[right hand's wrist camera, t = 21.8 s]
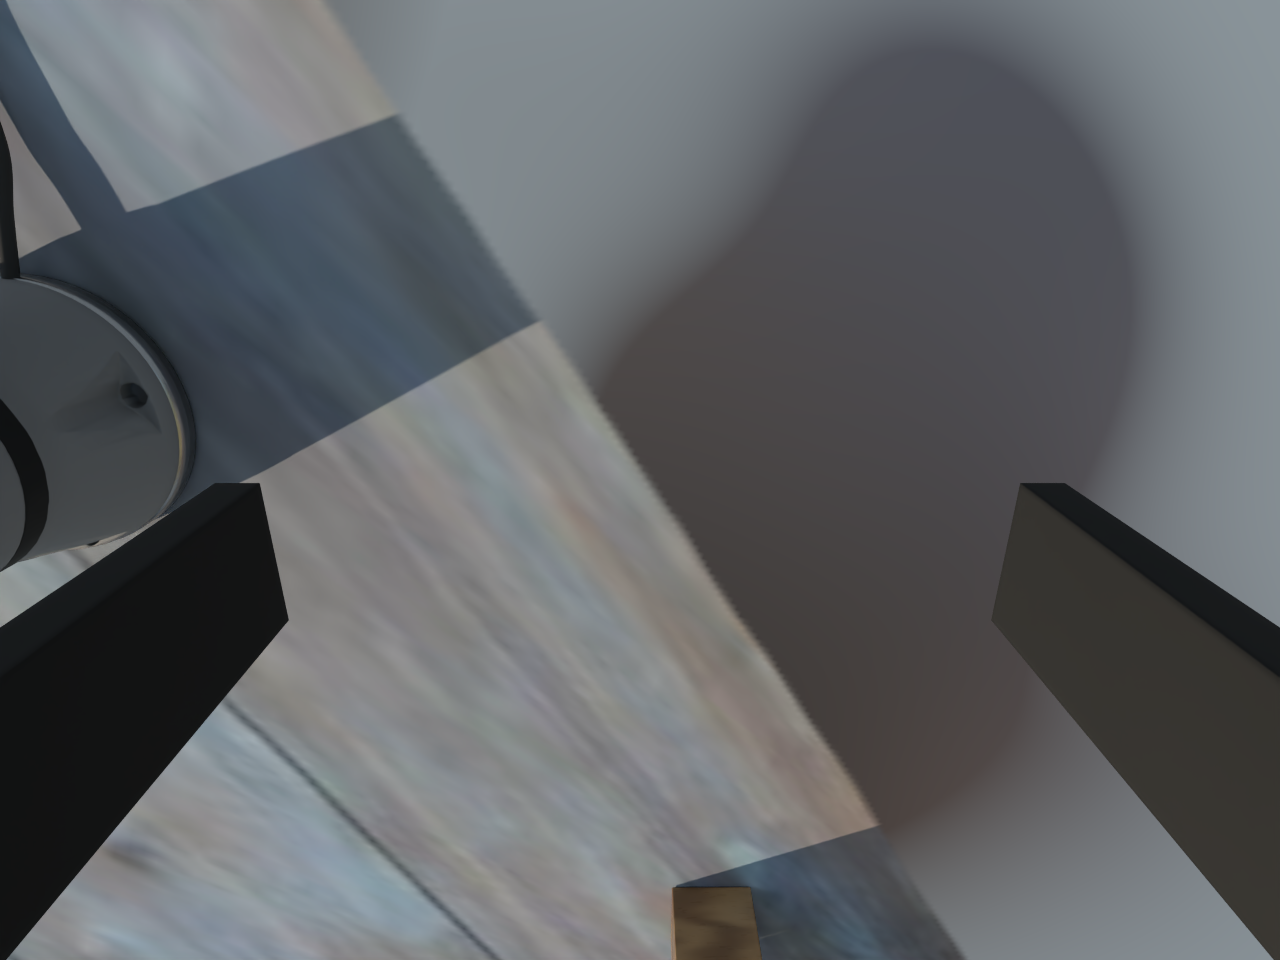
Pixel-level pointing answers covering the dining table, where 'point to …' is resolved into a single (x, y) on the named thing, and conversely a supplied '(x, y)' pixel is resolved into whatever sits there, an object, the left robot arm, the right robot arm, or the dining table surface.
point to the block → (713, 924)
